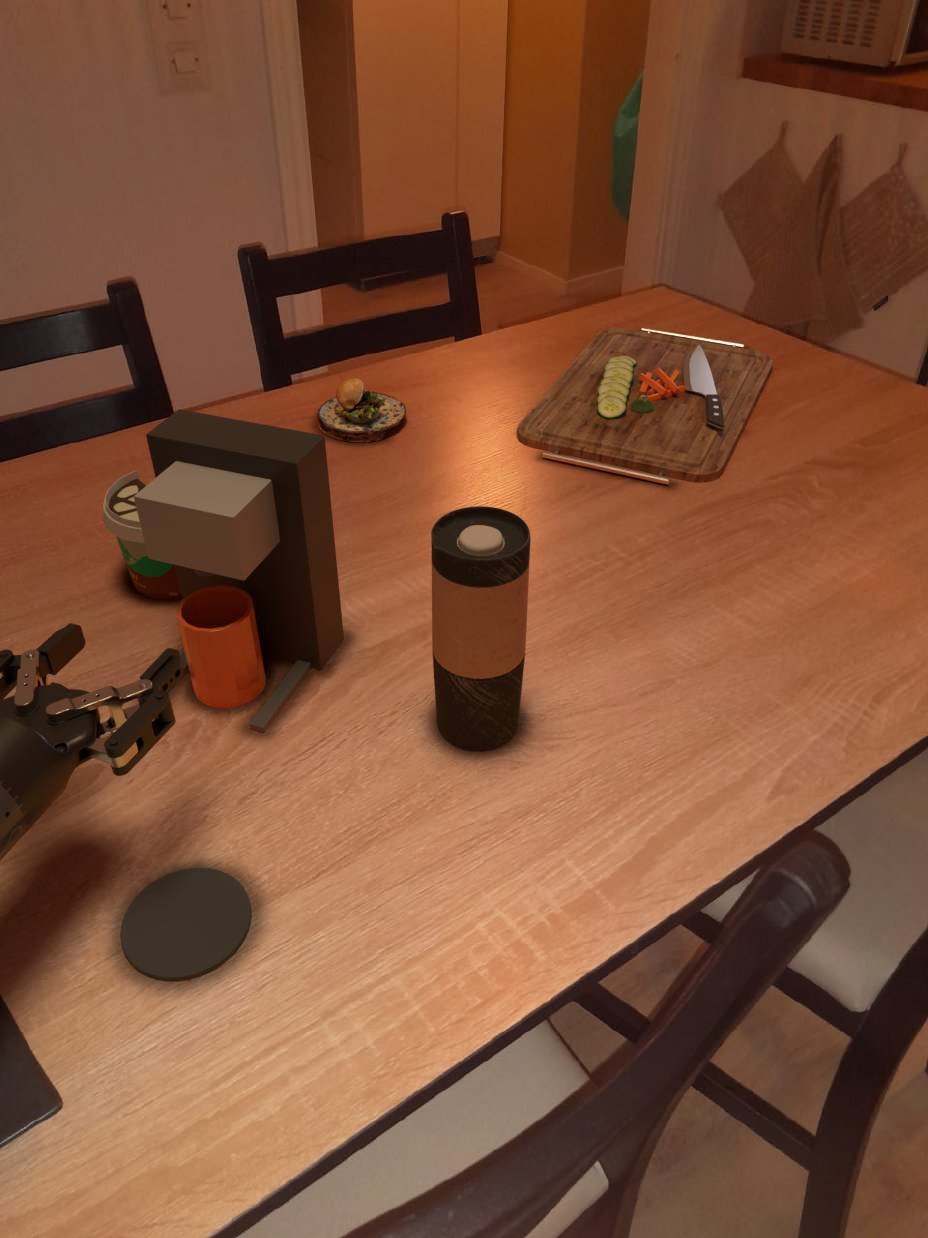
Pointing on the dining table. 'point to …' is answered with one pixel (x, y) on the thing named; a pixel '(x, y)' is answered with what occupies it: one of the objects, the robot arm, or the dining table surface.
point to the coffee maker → (249, 532)
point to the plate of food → (359, 413)
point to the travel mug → (479, 624)
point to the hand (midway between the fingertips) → (126, 645)
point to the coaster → (186, 924)
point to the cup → (222, 646)
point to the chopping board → (649, 405)
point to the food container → (137, 541)
